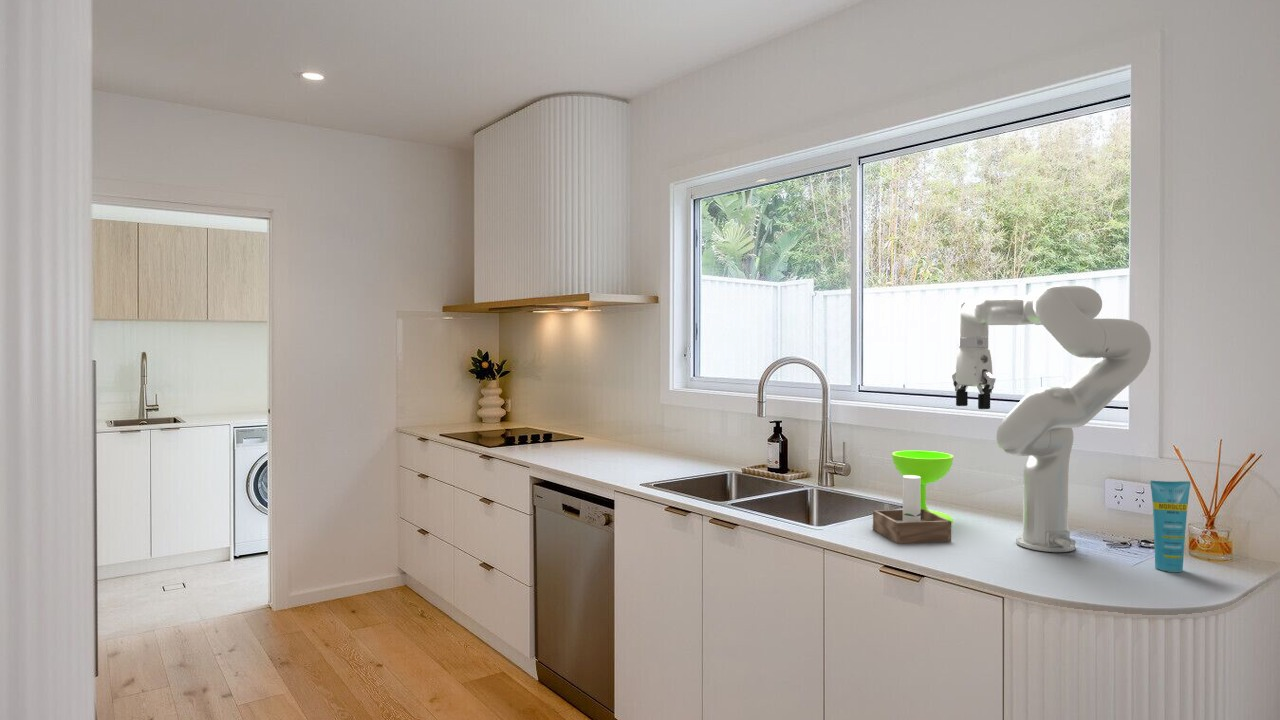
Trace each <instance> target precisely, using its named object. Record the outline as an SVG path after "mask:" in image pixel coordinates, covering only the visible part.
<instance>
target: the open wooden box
mask: <svg viewBox="0 0 1280 720" xmlns="http://www.w3.org/2000/svg"><path fill="white" fill-rule="evenodd" d="M920 515H921V521H920V522H903V509H882V510H881V509H880V510H878V509H877V510H872V529H873V530H874V531H875V532H877V533H878V534H880V535H882V536H884V537H885V538H887V539H889V540H890V541H892V542H894V543H896V544H912V543H913V544H919V543H920V544H921V543H942V542H944V543H945V542H946V543H947V542H952V523H951V521H950V520H947V519H945V518H943V517H941V516H938V515H936V514H934V513H932V512H929V511H927V510H925V509H921V513H920Z"/></svg>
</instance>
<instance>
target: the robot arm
mask: <svg viewBox="0 0 1280 720" xmlns="http://www.w3.org/2000/svg"><path fill="white" fill-rule="evenodd" d="M957 307H958V308H957V311H958V312H957V315H958V316H957V317H958V318H957V323H958V324H957V350H958V351H957V357H956V364H955V372H954V373H953V374H952V376H951V378H952V382H953V387H954V391H955V406H957V407H967V406H968V403H969V402H968V395H969V394H968V393H969V392H968V391H967V390H968V388H969V387H977V390H978V392H979V393H978V394H977V408H978V410H990V409H991V394H992V393H993V389H994V387H995V383H996V377H995V376H993V362H992V355H991V350H990V349H989V326H1020V325H1021V326H1022V325H1026V326H1027V325H1034V326H1035V325H1036V326H1043V327H1044V328H1045V329H1046V330H1047V331H1048V332H1049V334H1050V335H1051V336H1052V337H1054V339H1055V340H1056V342H1058V343H1059V345H1060V346H1061V347H1062V348H1063V349H1064V350H1066V351H1067V352H1068V353H1069V354H1071V355H1072V356H1075V357H1077V358H1082V359H1098V360H1096V361H1094V362H1093V363H1091V364H1090V365H1088V366H1086V367H1084V369H1083V370H1081V371H1080V372H1079V373H1078V375H1077V376H1076V377H1074V378H1073V379H1072V380H1071V381H1070V382H1069V383H1067V384H1065V385H1061V386H1045V387H1039V388H1036V389H1033V390H1031V391H1030V392H1028V393H1027V394H1026V395H1024V396H1023V397H1022V398H1021V400H1019V402H1017V404H1015V406H1014V407H1013V408H1012V409H1011V410H1010V411H1009V412H1008V414H1007V415H1005V417H1004V418H1003V419H1002V420H1001V421H1000V423H999V425H998V427H997V429H996V430H997V431H996V443H997V444H998V447H999V448H1000V450H1001V451H1003V452H1004V453H1005V454H1007V455H1010V456H1015V457H1027V459H1026V462H1025V464H1024V467H1023V473H1022V474H1023V475H1022V478H1023V479H1022V480H1023V483H1022V486H1023V487H1022V488H1023V489H1022V513H1023V514H1022V534H1020V535H1018V536H1016V537H1015V543H1016V545H1018V546H1020V547H1023V548H1025V549H1029V550H1034V551H1040V552H1047V553H1068V552H1073V551H1075V550H1076V544H1077V542H1076V540H1075V539H1073V538H1071V532H1070V531H1069V470H1070V469H1069V468H1070V457H1071V453H1072V448H1073V443H1074V430H1073V428H1075V429H1076V428H1080V427H1083V426H1085V425H1087V424H1088V423H1089V422H1090V421H1092V419H1094V418H1095V417H1096V415H1099V413H1100V412H1101V411H1102V410H1103V409H1104V408H1105V407H1106V406H1107V405H1109V404H1110V403H1111V402H1112V401H1113V400H1114V398H1116V397H1117V396H1118V395H1119V394H1120V393H1121V392H1122V391H1124V389H1126V388H1127V387H1128V386H1130V385H1131V384H1132V383H1133V382H1134V381H1135V380H1136V379H1137V378H1138V377H1139V376H1140V375H1141V374H1142V372H1143V371H1144V369H1145V368H1146V366H1147V365H1148V363H1149V360H1150V357H1151V351H1152V349H1151V348H1152V343H1151V337H1150V336H1149V333H1148V331H1147V329H1146V328H1145V327H1144V326H1143V325H1141V323H1138V322H1136V321H1133V320H1128V319H1125V318H1097V316H1099V314H1100V313H1101V311H1102V308H1103V300H1102V297H1101V295H1100V294H1099V293H1098V292H1097V291H1096V290H1095V289H1093V288H1090V287H1087V286H1085V285H1083V286H1082V285H1081V286H1080V285H1050V286H1047V287H1043V288H1042V289H1035V290H1033V291H1031V292H1029V293H1028V295H1024V296H1019V295H1018V296H1007V295H1006V296H1005V295H1002V296H1001V295H994V296H992V295H990V296H989V295H987V296H980V297H976V298H964V299H961V300H959V302H958V305H957Z"/></svg>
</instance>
